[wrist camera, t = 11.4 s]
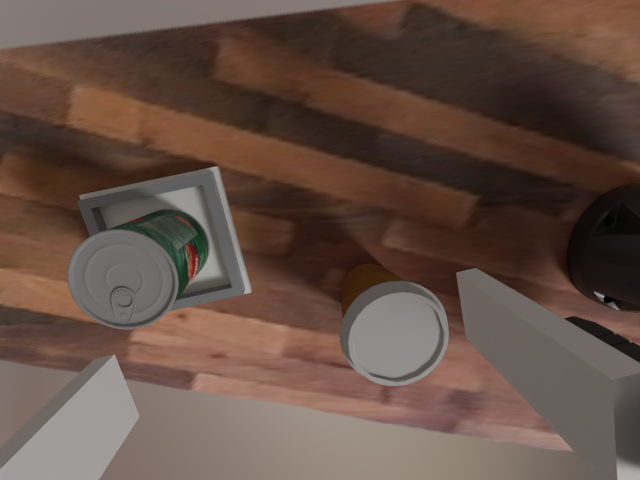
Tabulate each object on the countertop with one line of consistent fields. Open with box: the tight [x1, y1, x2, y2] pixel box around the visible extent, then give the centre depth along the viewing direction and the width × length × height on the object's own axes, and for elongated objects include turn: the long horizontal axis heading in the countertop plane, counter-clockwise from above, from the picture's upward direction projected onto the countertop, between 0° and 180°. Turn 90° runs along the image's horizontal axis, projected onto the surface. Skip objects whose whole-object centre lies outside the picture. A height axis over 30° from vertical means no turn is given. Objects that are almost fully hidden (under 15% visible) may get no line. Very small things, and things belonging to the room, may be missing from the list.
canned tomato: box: [67, 209, 210, 329], centre depth 31 cm, size 8×8×11 cm
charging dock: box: [77, 166, 252, 311], centre depth 36 cm, size 14×14×2 cm
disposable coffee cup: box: [340, 263, 449, 386], centre depth 34 cm, size 10×10×12 cm
